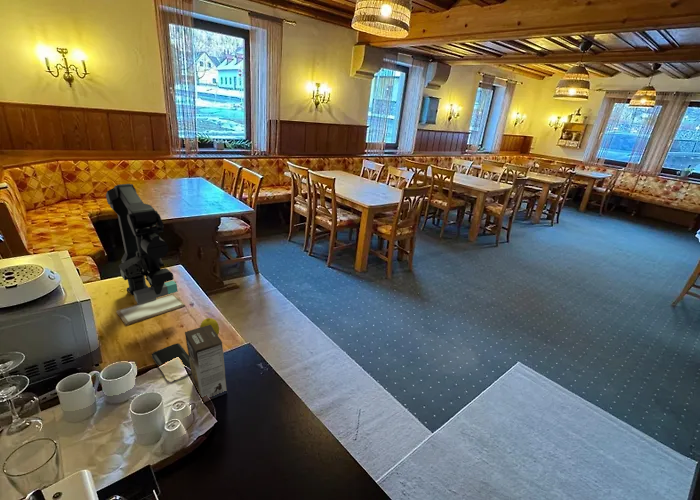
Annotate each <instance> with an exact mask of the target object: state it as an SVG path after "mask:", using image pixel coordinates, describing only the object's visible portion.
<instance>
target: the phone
mask: <svg viewBox="0 0 700 500" xmlns="http://www.w3.org/2000/svg"><path fill="white" fill-rule="evenodd" d="M176 357H179V358H180V359H181V360H182V362H183V364H184V365H185V366H187V367H190V361H189V355H188V352H187V351H186V350H185V349H184V348H183V346H182V345H181V344H180V343H174V344H171V345H169V346H166V347H163V348H160V349H158V350H155V351H153V352H152V353H151V358H152V360H153V361H154V362H155V365H156V366H157V365H161V364H163V363H165V362H167V361H170V360H172V359H173V358H176Z"/></svg>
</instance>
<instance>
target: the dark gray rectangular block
mask: <svg viewBox="0 0 700 500" xmlns="http://www.w3.org/2000/svg"><path fill="white" fill-rule="evenodd" d="M177 292H178V284H177V283H176V281H175V280H171V281H167V282H165V283H164V285H163V288H162V290H161V293H160V294H158V295H157V294H156V292H155V290H154V288H153V286H152V287H151V286H148V288H144V289H141V290H137V291H134V295H133V297H134V300H135V302H136V304H137V303H141V302H145V301H148V300H151V299H155V298H160V297H163V296H166V295H170V294H173V293H174V294H175V293H177Z"/></svg>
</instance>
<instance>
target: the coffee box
mask: <svg viewBox="0 0 700 500" xmlns="http://www.w3.org/2000/svg"><path fill="white" fill-rule="evenodd" d="M184 335H185V341H186V348H187V354H188V355H189V361H190V368H191V374H190V375H191V379H192V378H193V380H192V382H193V381H194V383H195V386H196V388H197V390H198V392H199V394H200V395H201V397H204V396H206V395H207V396H208V397H212V396H215V395H217V394H219V393H222V392H224V391H227V392H228V390H227V380H226V367H225V359H224V358H225V357H224V346H223V341H222V340H221V338H220V337H219V334H218V335H217V334H216V332H215V331H214V329H213V328H212V326H211V325H208V326H205V327H200V326H199V327H197V328H194V329H190V330H187V331H185V332H184ZM195 386H194V387H195Z"/></svg>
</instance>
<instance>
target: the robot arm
mask: <svg viewBox="0 0 700 500" xmlns="http://www.w3.org/2000/svg"><path fill="white" fill-rule="evenodd" d="M105 198H106V202H107V205H109V207H110V208H111V210H113V211H114V212H115V213H116V214H117V219H118V225H119V229H120V233H121V239H122V242H123V243H122V244H123V247H124V248H123V249H124V253H123V255H122V257H121V263H120V264H119V265H118V268H119V269H120V275H121V277H122V279H123V281H127V283H128V287H126V290H127V291H128V293H129V294H130V295H131V296H134V291H137V290H141V289H144V288H148V287H152V286H153V288H154V290H155V292H156V294H157V295H158V294H160V293H161V290H162V288H163V285H164V283H166V282H169V281H174V274H173V272H172V271H171V270H170V269H168V268H161V267H164V266H165V263H164V262H163V261H162V258H164V257H166V255H167V254H168V252H169V245H168V243H167V242H166V241H165V240H164V239H162V238H161V237H160V233H164V227H165V225H164V222H163V220H162V218H161V215H160V214H159V213H158V211H157V210H155V208H154V207H153V206H152V205H151V204H148V203H144V202H143V200H142V199H141V197H140V196H139V194H138V193H137V190H136V188H135V186H134V184H133V183H132V184H131V183H122V184H116V185H114V187H113V188H111V189H109V190H107V191H106V193H105ZM147 282H148V284H149V286H148V285H147Z"/></svg>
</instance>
